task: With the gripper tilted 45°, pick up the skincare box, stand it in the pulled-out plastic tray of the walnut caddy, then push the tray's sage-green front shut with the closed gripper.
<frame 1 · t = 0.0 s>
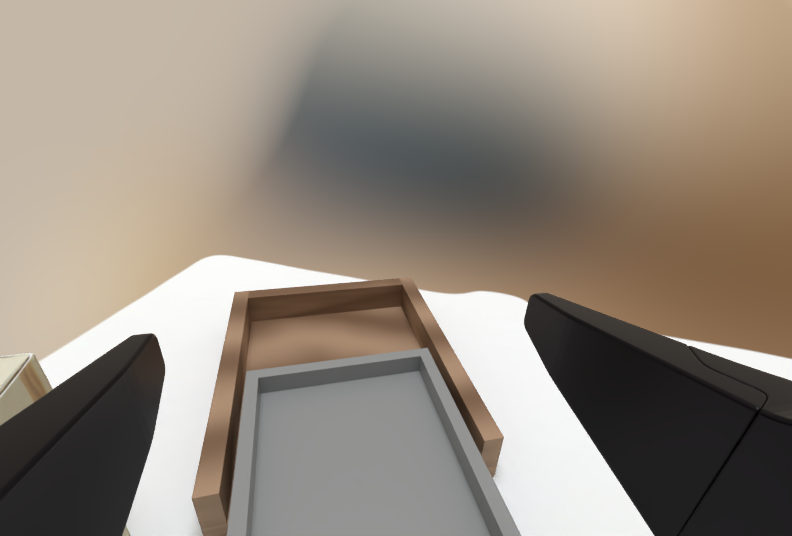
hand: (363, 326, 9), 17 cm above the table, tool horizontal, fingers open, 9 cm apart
tray: (364, 475, 20), point 3 cm above the table, slide at 8.0 cm
caddy: (341, 390, 30), on the table
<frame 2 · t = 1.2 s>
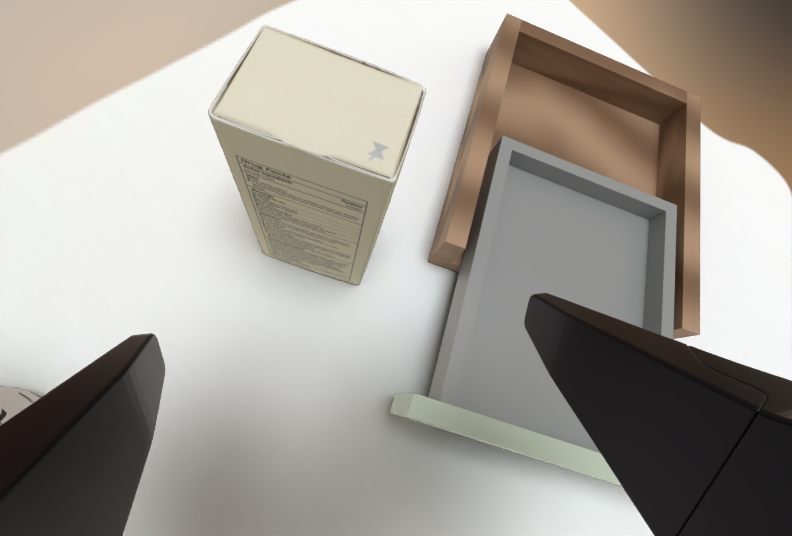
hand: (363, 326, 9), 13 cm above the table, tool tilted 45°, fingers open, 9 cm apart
skincare box: (320, 240, 24), on the table
tray: (574, 297, 23), point 3 cm above the table, slide at 8.0 cm
caddy: (561, 191, 29), on the table
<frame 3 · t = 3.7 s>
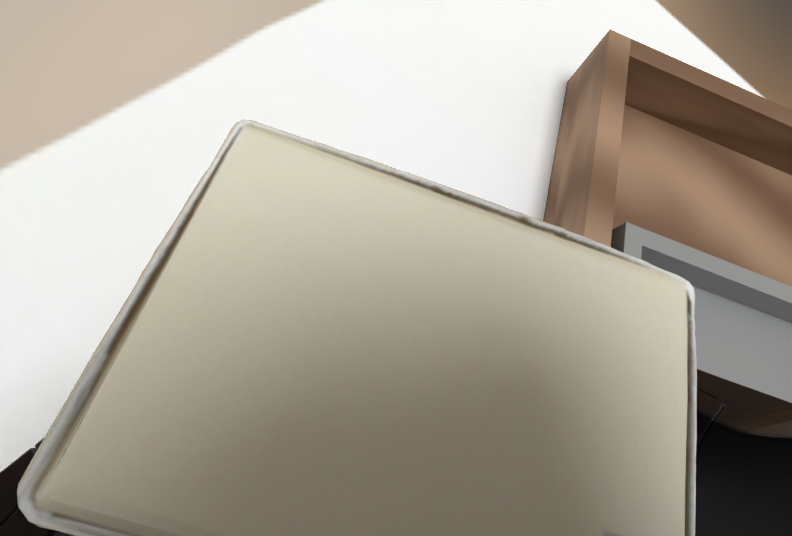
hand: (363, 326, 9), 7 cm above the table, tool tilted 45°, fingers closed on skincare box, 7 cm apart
skincare box: (345, 390, 15), on the table, touching gripper
tray: (763, 502, 14), point 3 cm above the table, slide at 8.0 cm
caddy: (685, 284, 20), on the table
when the fingers open (10 cm above the table, at t = 7.7 s): skincare box stays where it is, resting on tray.
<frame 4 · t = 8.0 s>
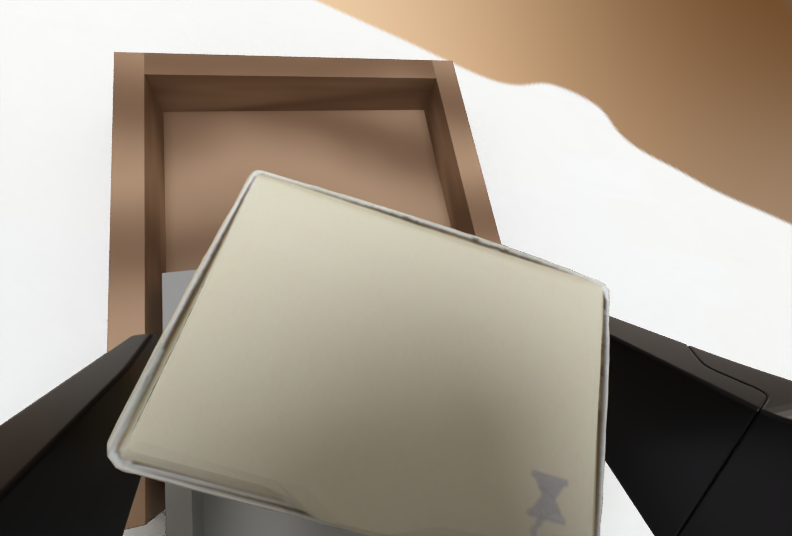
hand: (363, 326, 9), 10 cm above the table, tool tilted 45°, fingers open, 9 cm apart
skincare box: (341, 394, 17), point 2 cm above the table, touching tray
tray: (358, 484, 15), point 3 cm above the table, slide at 8.0 cm, touching skincare box
caddy: (323, 270, 20), on the table
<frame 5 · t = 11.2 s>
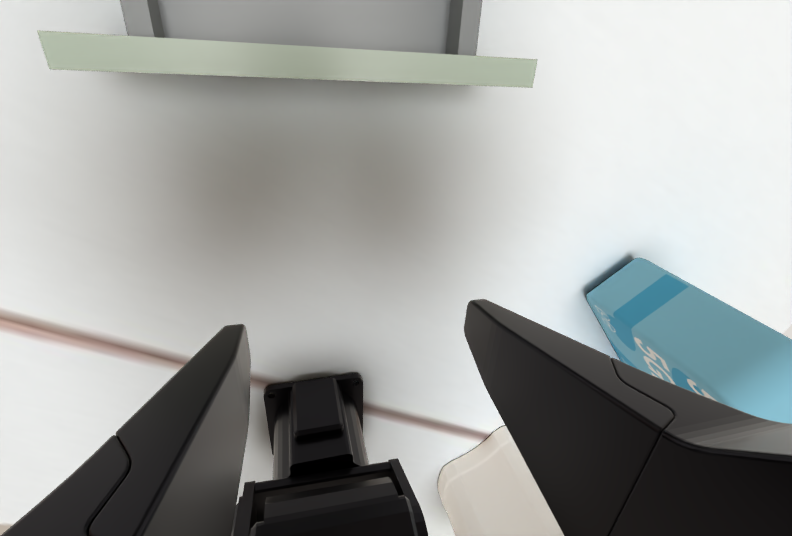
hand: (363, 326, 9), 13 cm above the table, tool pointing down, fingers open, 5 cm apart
blue printed box: (625, 314, 32), on the table
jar: (494, 465, 37), on the table
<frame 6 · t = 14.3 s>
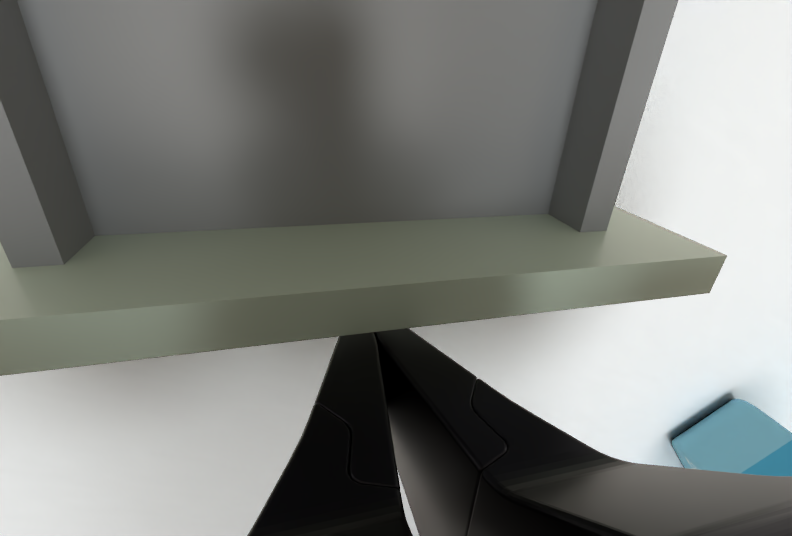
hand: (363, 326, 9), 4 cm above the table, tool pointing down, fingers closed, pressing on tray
blue printed box: (711, 449, 26), on the table
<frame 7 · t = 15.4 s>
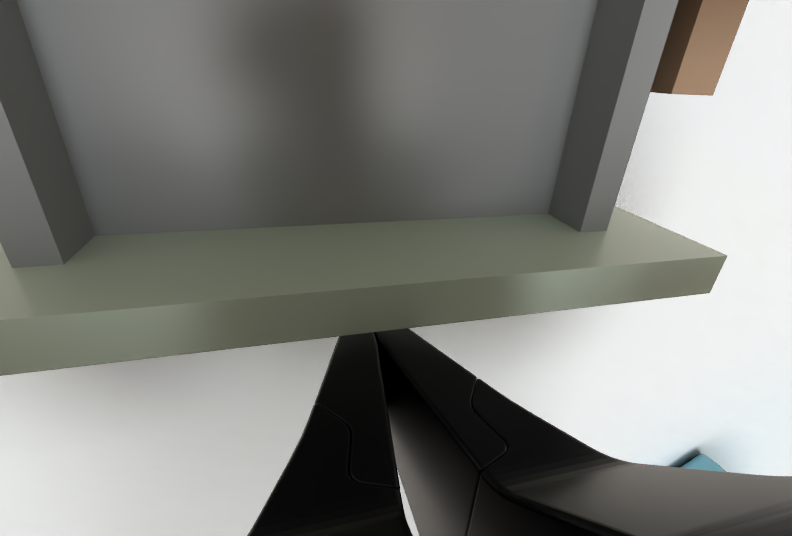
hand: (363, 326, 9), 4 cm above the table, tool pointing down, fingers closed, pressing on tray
blue printed box: (683, 494, 28), on the table
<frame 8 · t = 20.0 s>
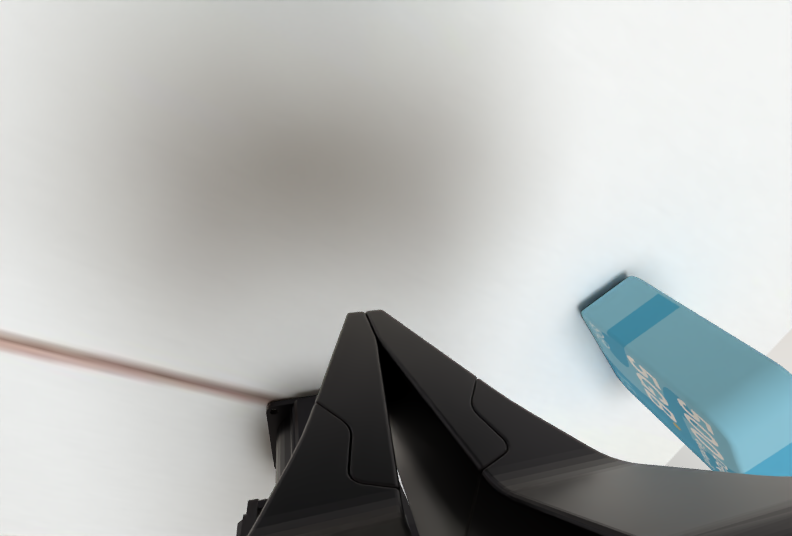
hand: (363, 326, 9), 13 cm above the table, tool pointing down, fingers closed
blue printed box: (620, 329, 33), on the table
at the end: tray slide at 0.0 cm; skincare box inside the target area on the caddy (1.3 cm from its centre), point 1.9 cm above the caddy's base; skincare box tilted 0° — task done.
